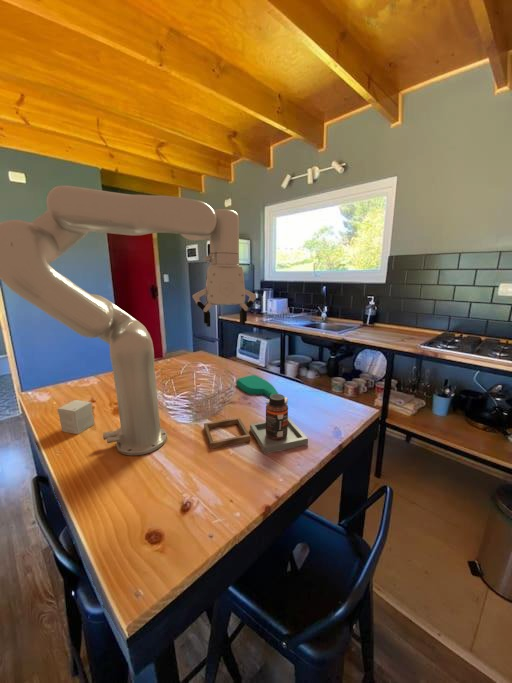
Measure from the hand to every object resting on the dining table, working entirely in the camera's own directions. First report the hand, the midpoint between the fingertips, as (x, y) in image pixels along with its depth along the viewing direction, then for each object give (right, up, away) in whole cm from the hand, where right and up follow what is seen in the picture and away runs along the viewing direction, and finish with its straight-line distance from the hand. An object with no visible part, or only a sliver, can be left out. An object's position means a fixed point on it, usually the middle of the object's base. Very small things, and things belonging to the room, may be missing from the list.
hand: (225, 325), depth 80 cm
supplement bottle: (+14, -30, -1) cm, 33 cm away
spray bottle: (+11, -24, +28) cm, 39 cm away
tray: (+14, -31, -1) cm, 34 cm away
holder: (0, -30, +1) cm, 30 cm away
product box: (-44, -30, +5) cm, 53 cm away
